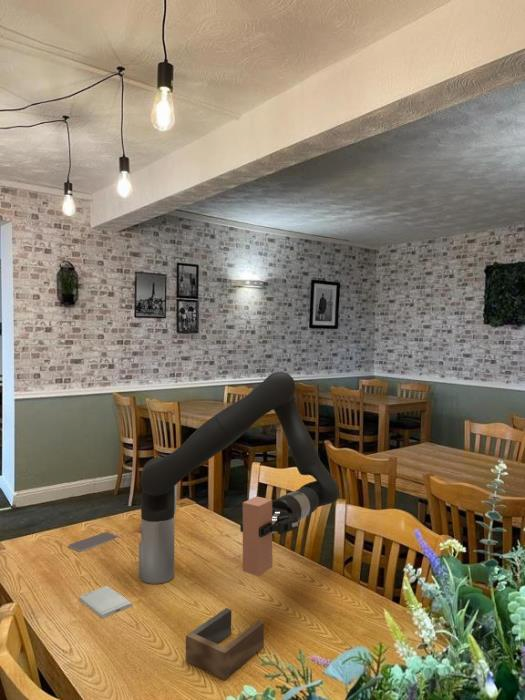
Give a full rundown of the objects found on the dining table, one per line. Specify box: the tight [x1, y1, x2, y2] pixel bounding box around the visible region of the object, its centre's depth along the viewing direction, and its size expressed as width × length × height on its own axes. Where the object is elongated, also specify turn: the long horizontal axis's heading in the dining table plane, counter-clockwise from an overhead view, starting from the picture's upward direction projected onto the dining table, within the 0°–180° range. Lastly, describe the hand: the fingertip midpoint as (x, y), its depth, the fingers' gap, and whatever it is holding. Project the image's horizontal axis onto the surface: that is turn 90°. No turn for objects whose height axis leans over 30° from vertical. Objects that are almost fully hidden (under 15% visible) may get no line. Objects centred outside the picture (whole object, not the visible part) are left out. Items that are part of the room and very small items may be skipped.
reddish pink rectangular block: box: [242, 496, 273, 577], centre depth 121 cm, size 4×6×16 cm
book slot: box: [185, 607, 265, 681], centre depth 111 cm, size 10×14×6 cm
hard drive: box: [78, 585, 133, 619], centre depth 132 cm, size 2×8×12 cm
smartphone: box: [67, 531, 119, 553], centre depth 171 cm, size 7×1×15 cm
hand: (250, 530), depth 118 cm, fingers closed on reddish pink rectangular block, 4 cm apart
